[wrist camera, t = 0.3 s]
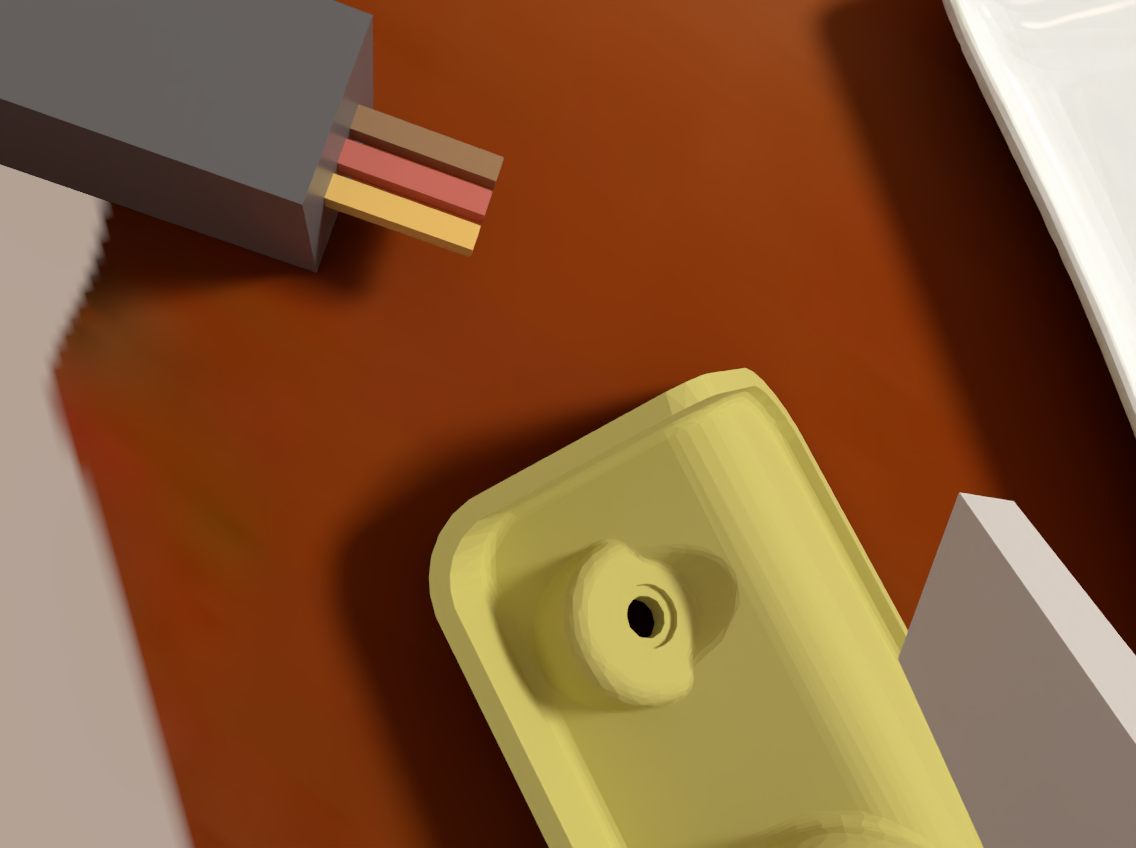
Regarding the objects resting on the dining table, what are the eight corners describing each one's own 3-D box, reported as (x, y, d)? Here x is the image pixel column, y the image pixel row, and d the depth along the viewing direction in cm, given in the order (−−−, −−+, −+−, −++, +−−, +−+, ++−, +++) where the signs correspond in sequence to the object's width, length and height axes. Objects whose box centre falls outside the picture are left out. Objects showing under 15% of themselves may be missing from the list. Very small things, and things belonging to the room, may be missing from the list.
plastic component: (396, 538, 28) (737, 352, 26) (489, 512, 35) (763, 364, 33) (759, 1278, 26) (1168, 1147, 23) (780, 1090, 33) (1096, 976, 31)
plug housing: (502, 164, 32) (531, 74, 26) (450, 319, 31) (467, 263, 25) (31, -9, 30) (-52, -146, 24) (-39, 151, 29) (-142, 48, 24)
